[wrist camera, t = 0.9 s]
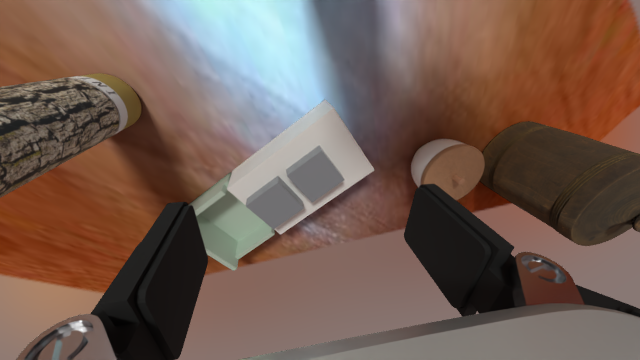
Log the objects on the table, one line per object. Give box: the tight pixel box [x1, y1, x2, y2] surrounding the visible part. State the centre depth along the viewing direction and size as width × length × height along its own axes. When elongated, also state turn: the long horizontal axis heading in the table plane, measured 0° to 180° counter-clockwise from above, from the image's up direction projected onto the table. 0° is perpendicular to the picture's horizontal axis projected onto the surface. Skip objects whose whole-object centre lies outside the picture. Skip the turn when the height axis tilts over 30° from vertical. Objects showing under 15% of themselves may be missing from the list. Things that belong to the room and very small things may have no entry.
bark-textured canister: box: [0, 74, 141, 198], centre depth 20 cm, size 7×7×25 cm
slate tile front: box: [286, 145, 345, 202], centre depth 34 cm, size 6×6×2 cm
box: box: [189, 172, 275, 271], centre depth 39 cm, size 10×12×7 cm
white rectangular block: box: [227, 100, 374, 235], centre depth 37 cm, size 19×12×6 cm, turn 125°
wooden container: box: [480, 121, 640, 246], centre depth 39 cm, size 15×15×22 cm
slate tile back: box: [246, 176, 304, 229], centre depth 35 cm, size 6×6×2 cm
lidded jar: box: [411, 139, 485, 200], centre depth 40 cm, size 11×11×9 cm
